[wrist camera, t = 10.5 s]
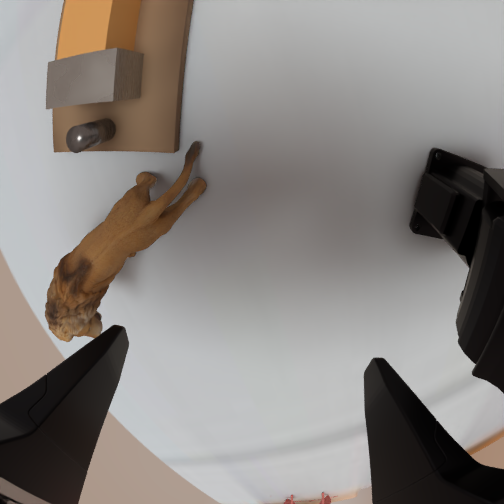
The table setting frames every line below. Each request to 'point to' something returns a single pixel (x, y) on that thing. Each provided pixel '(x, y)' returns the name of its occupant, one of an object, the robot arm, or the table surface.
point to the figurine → (324, 503)
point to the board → (152, 91)
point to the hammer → (96, 54)
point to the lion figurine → (113, 251)
